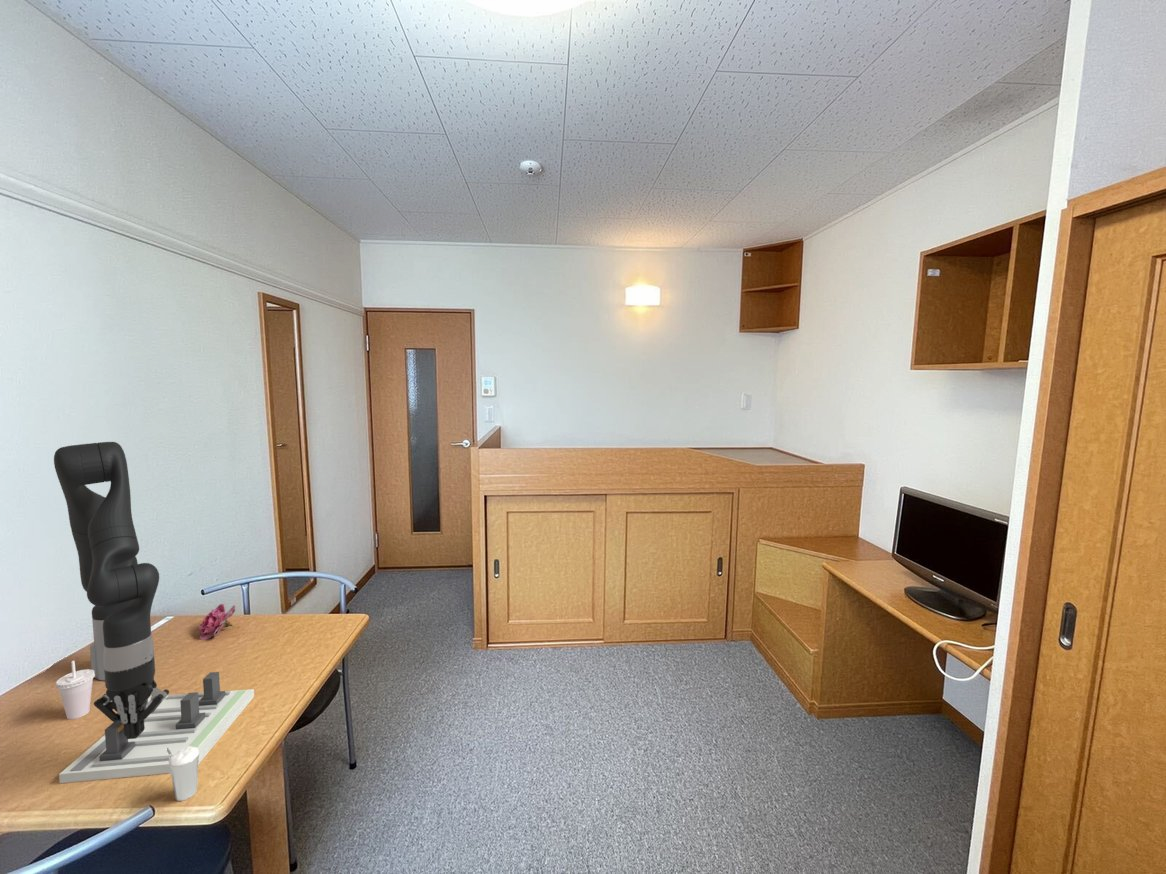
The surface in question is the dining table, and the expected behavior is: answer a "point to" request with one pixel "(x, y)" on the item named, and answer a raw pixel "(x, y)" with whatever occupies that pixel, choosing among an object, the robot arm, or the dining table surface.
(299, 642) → the dining table surface
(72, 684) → the smoothie
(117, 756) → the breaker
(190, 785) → the milkshake
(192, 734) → the panel
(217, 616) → the flower
